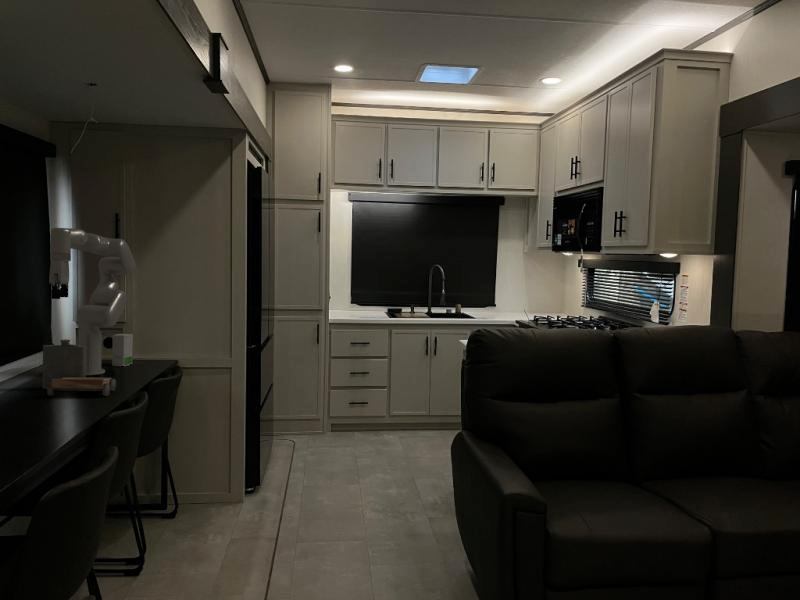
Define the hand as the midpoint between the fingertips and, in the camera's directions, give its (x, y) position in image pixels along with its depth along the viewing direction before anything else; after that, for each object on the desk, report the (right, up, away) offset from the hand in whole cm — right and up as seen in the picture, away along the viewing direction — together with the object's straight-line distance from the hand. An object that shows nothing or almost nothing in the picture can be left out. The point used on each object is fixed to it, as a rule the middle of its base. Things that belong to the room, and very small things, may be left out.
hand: (59, 298), depth 251 cm
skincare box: (+4, -34, +47) cm, 58 cm away
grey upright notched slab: (+5, -37, -6) cm, 38 cm away
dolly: (+17, -38, -13) cm, 44 cm away
